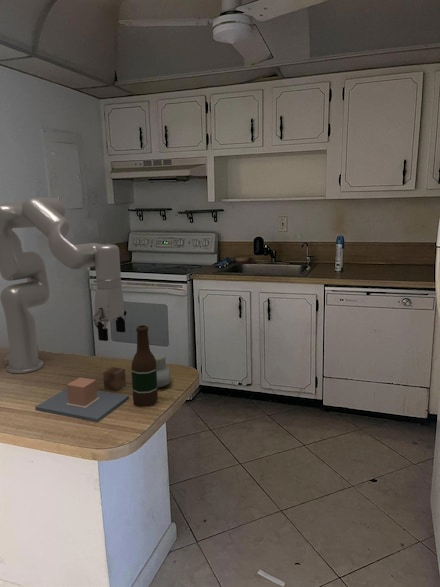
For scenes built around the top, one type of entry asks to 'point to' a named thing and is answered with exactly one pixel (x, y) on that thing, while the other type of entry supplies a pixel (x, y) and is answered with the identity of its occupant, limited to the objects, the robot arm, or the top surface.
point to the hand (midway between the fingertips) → (112, 336)
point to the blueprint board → (89, 412)
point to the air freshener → (162, 370)
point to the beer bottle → (144, 371)
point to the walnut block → (114, 379)
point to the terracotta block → (82, 391)
